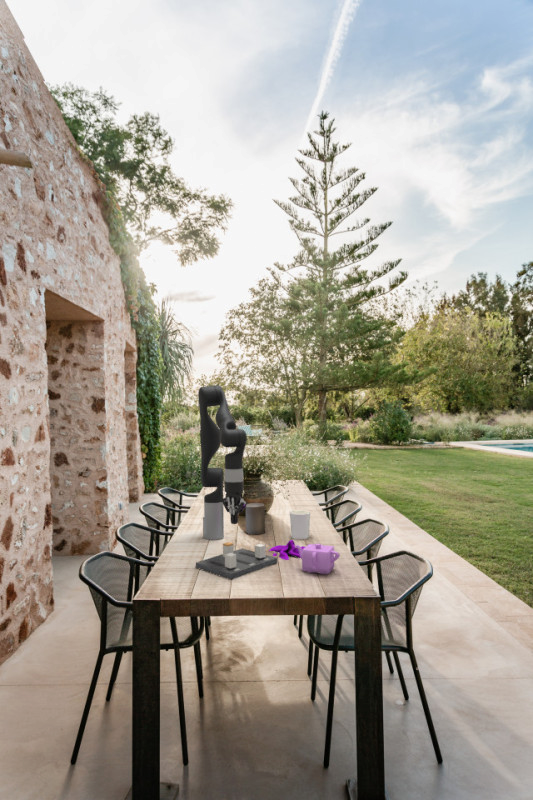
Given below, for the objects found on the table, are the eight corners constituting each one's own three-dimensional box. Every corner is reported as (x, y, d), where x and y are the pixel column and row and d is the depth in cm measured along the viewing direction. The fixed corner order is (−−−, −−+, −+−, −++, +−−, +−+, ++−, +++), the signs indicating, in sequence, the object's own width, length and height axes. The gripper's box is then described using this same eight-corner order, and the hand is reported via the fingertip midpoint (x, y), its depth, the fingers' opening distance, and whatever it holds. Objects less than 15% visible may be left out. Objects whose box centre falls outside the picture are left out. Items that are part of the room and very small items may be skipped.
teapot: (288, 573, 180) (288, 546, 180) (300, 562, 193) (299, 536, 193) (335, 579, 173) (335, 550, 173) (344, 567, 186) (344, 540, 186)
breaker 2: (254, 556, 192) (254, 545, 192) (260, 555, 194) (260, 543, 194) (260, 558, 190) (260, 546, 190) (265, 556, 192) (265, 545, 192)
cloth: (268, 547, 215) (268, 533, 215) (310, 547, 214) (309, 533, 215) (267, 563, 193) (267, 548, 193) (313, 563, 192) (313, 548, 192)
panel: (195, 567, 187) (195, 562, 187) (242, 553, 205) (242, 548, 205) (231, 579, 173) (230, 573, 173) (277, 562, 192) (277, 557, 192)
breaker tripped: (222, 556, 193) (222, 543, 193) (228, 554, 195) (228, 542, 195) (228, 557, 191) (227, 544, 191) (233, 556, 193) (233, 543, 193)
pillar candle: (268, 531, 242) (268, 501, 242) (259, 535, 233) (258, 504, 234) (251, 529, 246) (251, 499, 247) (242, 533, 238) (241, 503, 238)
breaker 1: (225, 566, 180) (224, 554, 180) (230, 564, 182) (230, 552, 182) (230, 568, 178) (230, 556, 178) (236, 566, 180) (236, 554, 180)
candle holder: (300, 541, 222) (300, 515, 223) (285, 537, 230) (285, 512, 230) (314, 537, 229) (314, 512, 229) (300, 533, 236) (299, 509, 236)
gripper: (215, 479, 193) (216, 522, 193) (238, 482, 184) (239, 528, 184) (229, 477, 198) (229, 519, 198) (252, 480, 189) (252, 524, 189)
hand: (234, 523), depth 191 cm, fingers closed
